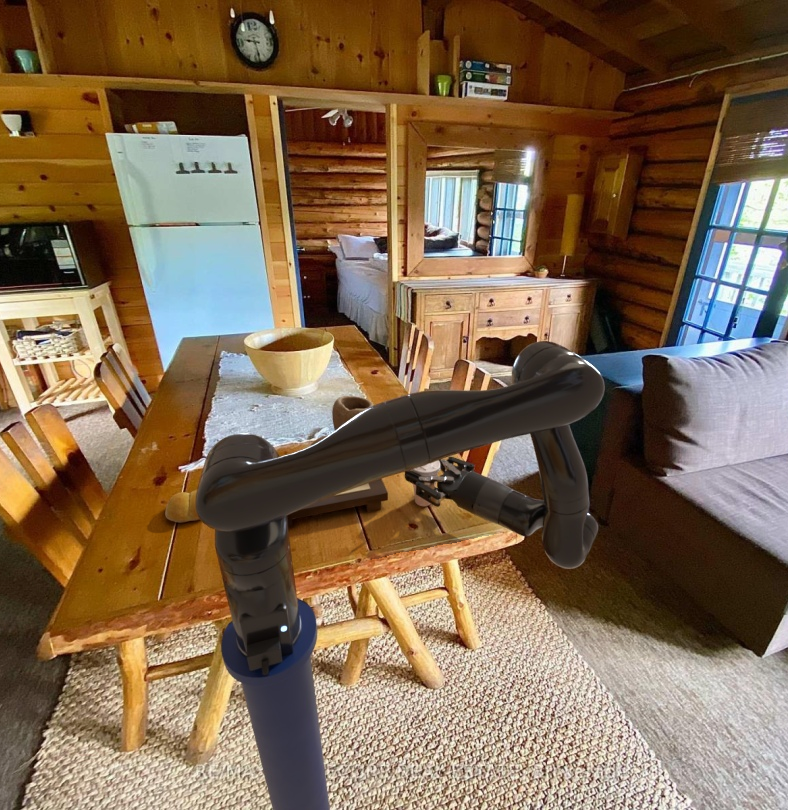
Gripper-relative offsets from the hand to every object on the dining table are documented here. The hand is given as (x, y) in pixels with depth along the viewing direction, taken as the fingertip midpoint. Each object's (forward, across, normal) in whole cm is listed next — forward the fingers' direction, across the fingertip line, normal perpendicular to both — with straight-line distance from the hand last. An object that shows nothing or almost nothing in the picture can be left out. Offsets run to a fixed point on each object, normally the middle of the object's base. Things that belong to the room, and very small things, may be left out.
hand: (416, 466), depth 93 cm
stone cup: (+23, -3, +8) cm, 25 cm away
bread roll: (+33, +33, +8) cm, 47 cm away
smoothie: (-2, 0, +8) cm, 9 cm away
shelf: (+14, +13, +8) cm, 21 cm away
